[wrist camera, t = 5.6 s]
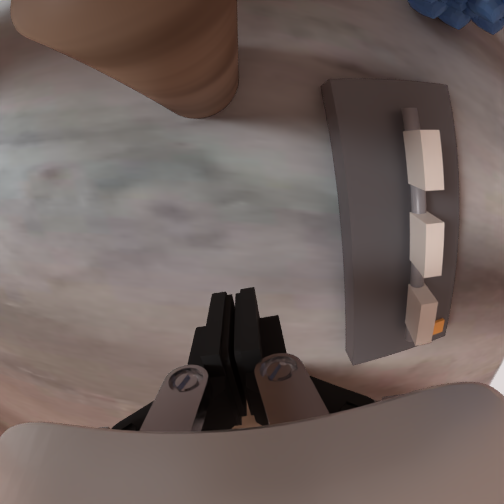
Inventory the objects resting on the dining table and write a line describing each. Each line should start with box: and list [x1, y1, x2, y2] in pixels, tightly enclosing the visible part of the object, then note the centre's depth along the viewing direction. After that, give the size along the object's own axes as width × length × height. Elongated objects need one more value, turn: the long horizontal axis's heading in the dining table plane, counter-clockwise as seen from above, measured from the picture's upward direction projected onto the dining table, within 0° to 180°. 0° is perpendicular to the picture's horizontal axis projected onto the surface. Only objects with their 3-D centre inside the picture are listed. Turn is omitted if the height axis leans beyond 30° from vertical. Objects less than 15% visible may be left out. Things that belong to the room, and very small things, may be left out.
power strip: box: [321, 79, 459, 365], centre depth 18 cm, size 20×9×2 cm, turn 10°
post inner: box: [10, 0, 239, 119], centre depth 9 cm, size 5×5×14 cm
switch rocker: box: [401, 108, 444, 346], centre depth 15 cm, size 16×1×3 cm, turn 10°
